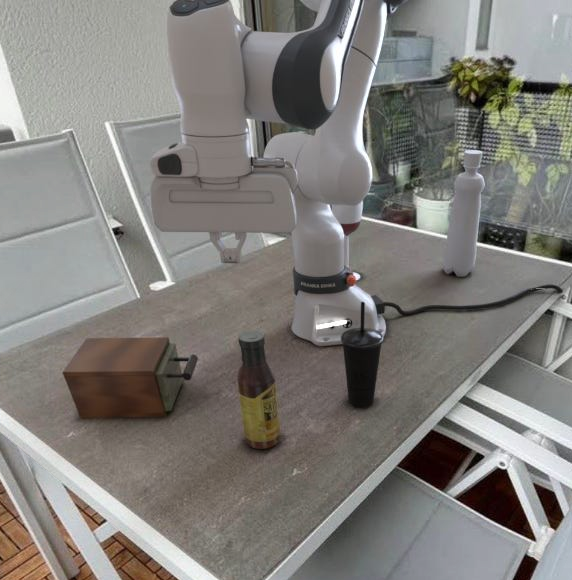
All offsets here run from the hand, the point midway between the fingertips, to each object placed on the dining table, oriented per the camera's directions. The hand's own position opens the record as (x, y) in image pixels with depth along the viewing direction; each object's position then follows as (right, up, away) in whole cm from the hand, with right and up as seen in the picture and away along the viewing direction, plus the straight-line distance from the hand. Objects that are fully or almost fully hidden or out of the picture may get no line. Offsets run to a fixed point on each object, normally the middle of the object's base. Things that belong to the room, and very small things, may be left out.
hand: (231, 262), depth 82 cm
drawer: (-21, -16, +24) cm, 36 cm away
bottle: (+49, +28, +75) cm, 94 cm away
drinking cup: (+20, -17, +25) cm, 36 cm away
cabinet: (-25, -17, +25) cm, 39 cm away
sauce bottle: (+2, -26, +15) cm, 30 cm away
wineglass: (+17, +26, +72) cm, 78 cm away
